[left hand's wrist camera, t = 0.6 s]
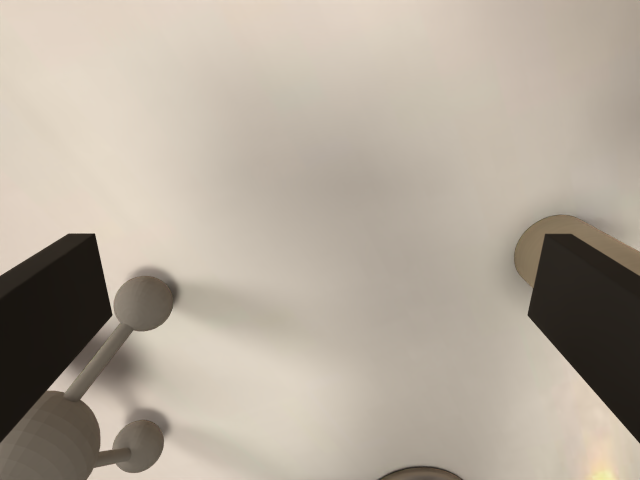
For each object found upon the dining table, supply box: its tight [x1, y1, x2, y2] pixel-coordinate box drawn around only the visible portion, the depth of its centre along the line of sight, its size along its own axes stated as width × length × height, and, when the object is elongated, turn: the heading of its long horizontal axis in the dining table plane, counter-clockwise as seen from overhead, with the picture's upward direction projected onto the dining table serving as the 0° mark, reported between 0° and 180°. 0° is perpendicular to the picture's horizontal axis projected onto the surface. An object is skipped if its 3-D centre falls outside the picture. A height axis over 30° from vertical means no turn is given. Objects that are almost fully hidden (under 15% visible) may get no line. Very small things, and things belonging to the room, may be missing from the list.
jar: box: [514, 215, 640, 288], centre depth 34 cm, size 8×8×18 cm
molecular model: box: [0, 276, 173, 480], centre depth 32 cm, size 24×22×30 cm
